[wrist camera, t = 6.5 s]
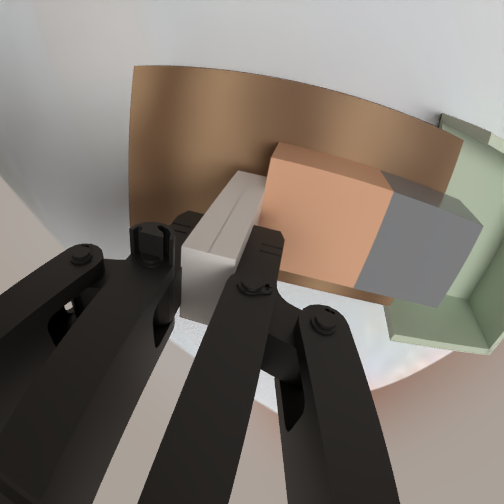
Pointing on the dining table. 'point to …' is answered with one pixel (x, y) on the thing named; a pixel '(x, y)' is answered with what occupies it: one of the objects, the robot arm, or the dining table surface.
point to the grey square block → (419, 244)
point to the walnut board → (261, 141)
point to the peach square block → (323, 212)
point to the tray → (477, 264)
